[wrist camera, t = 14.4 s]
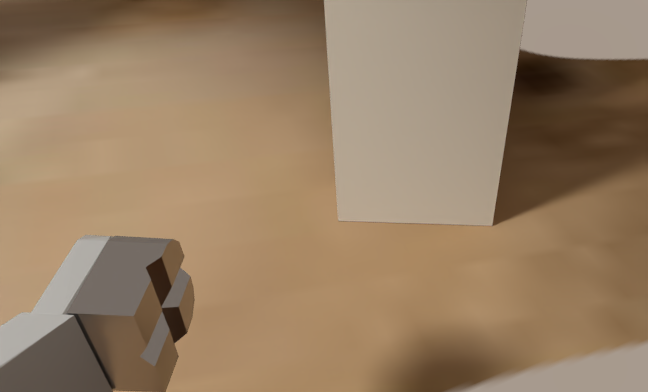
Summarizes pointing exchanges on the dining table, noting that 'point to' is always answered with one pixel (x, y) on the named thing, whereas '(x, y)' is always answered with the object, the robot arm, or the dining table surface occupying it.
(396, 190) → the ivory domino
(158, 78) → the dining table surface
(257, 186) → the dining table surface
